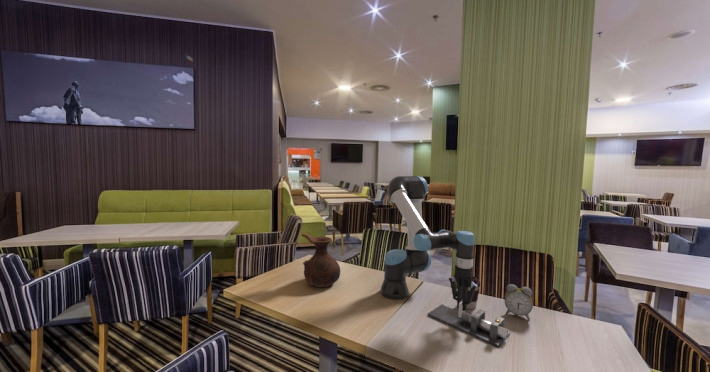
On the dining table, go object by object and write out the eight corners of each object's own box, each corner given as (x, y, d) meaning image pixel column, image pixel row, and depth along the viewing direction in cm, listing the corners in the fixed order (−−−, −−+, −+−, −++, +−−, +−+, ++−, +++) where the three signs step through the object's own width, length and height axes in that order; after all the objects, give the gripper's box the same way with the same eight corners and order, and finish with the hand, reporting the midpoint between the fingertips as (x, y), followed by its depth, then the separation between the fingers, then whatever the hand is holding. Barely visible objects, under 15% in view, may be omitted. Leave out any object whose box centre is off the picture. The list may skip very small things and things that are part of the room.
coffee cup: (480, 312, 141) (482, 282, 140) (459, 309, 143) (461, 280, 142) (476, 302, 151) (478, 274, 150) (456, 300, 153) (458, 272, 152)
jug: (320, 273, 186) (321, 227, 184) (347, 281, 174) (348, 232, 171) (295, 284, 169) (295, 233, 166) (322, 295, 156) (323, 240, 153)
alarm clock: (503, 315, 139) (505, 285, 138) (503, 309, 145) (505, 280, 144) (531, 322, 133) (534, 290, 132) (530, 315, 139) (533, 285, 138)
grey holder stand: (427, 315, 137) (428, 299, 137) (441, 306, 146) (442, 291, 146) (498, 347, 114) (499, 329, 114) (509, 334, 123) (511, 317, 123)
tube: (460, 322, 130) (461, 313, 130) (464, 318, 133) (465, 310, 133) (504, 340, 117) (504, 331, 117) (507, 336, 120) (508, 327, 119)
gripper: (446, 264, 132) (444, 313, 134) (474, 272, 123) (471, 325, 125) (454, 260, 137) (451, 308, 139) (481, 268, 128) (479, 319, 130)
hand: (461, 316), depth 132 cm, fingers closed
